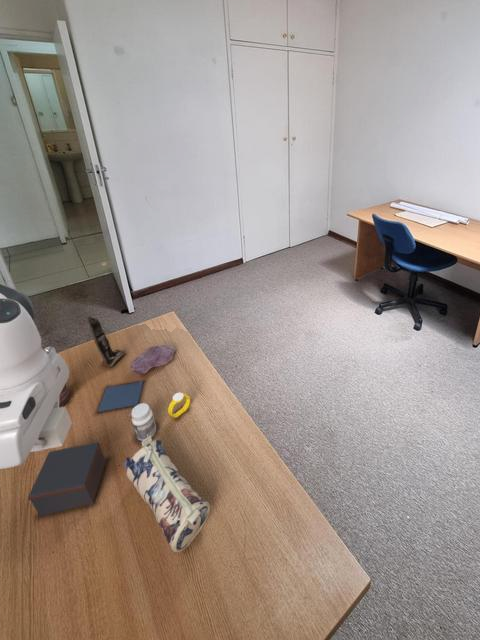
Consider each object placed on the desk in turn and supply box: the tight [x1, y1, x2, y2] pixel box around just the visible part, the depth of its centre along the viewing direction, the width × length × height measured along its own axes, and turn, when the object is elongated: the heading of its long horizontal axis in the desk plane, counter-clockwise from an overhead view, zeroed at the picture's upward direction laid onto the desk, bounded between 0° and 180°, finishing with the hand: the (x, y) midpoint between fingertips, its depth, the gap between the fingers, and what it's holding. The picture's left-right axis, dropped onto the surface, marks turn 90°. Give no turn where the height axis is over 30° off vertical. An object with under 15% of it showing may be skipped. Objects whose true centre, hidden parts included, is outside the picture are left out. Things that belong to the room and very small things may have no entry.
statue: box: [87, 316, 126, 368], centre depth 101 cm, size 4×7×20 cm, turn 167°
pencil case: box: [123, 436, 211, 553], centre depth 67 cm, size 22×8×10 cm, turn 49°
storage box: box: [27, 441, 107, 517], centre depth 71 cm, size 10×9×7 cm
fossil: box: [130, 344, 176, 375], centre depth 103 cm, size 8×14×5 cm, turn 141°
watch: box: [167, 392, 191, 419], centre depth 88 cm, size 6×3×6 cm, turn 144°
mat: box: [97, 381, 144, 413], centre depth 93 cm, size 10×8×1 cm
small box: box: [30, 406, 73, 453], centre depth 64 cm, size 6×5×5 cm
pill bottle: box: [131, 402, 157, 442], centre depth 82 cm, size 5×5×8 cm
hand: (47, 432), depth 64 cm, fingers closed on small box, 5 cm apart
